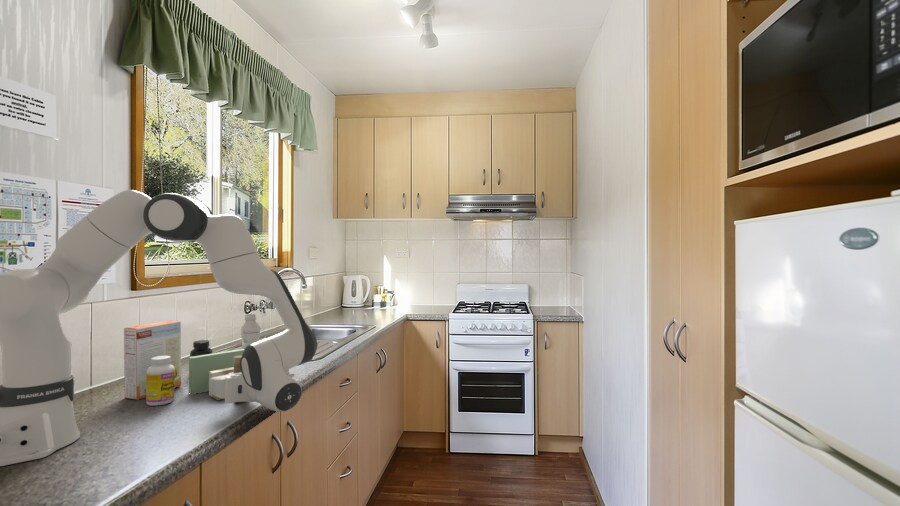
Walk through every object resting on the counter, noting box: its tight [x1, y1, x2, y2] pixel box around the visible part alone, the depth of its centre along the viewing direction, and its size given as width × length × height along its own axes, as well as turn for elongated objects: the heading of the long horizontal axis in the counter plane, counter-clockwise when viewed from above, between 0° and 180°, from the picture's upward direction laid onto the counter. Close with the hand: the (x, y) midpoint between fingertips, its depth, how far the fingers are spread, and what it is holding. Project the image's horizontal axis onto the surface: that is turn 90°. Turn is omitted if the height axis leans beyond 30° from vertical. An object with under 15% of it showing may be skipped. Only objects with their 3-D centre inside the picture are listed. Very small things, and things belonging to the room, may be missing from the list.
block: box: [208, 367, 234, 401], centre depth 129 cm, size 9×7×7 cm
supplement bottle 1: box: [145, 356, 175, 407], centre depth 122 cm, size 7×7×13 cm
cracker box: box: [123, 320, 182, 401], centre depth 131 cm, size 14×6×21 cm, turn 161°
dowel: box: [234, 355, 242, 373], centre depth 123 cm, size 4×4×12 cm
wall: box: [188, 348, 244, 395], centre depth 135 cm, size 16×2×11 cm, turn 137°
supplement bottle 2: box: [189, 339, 213, 357], centre depth 149 cm, size 7×7×12 cm
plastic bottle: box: [240, 313, 261, 349], centre depth 157 cm, size 6×7×20 cm
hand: (240, 373), depth 124 cm, fingers closed on dowel, 4 cm apart
